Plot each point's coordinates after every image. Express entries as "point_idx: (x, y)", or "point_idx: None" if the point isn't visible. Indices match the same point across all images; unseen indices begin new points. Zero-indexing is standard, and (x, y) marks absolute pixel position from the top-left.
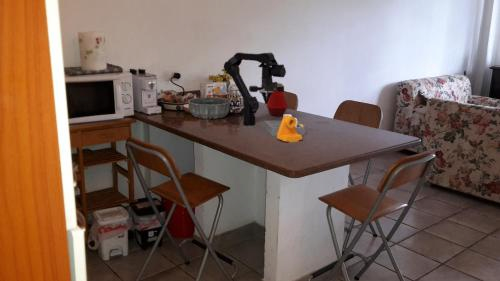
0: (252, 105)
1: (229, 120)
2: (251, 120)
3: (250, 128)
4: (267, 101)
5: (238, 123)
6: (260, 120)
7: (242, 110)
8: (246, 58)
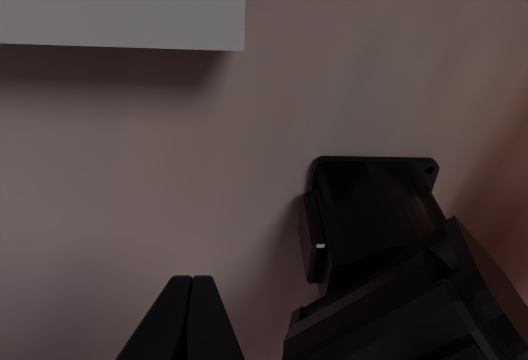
0: (459, 322)
1: None
2: (362, 197)
3: (427, 12)
4: (151, 332)
5: None
6: None
7: (521, 304)
8: None
